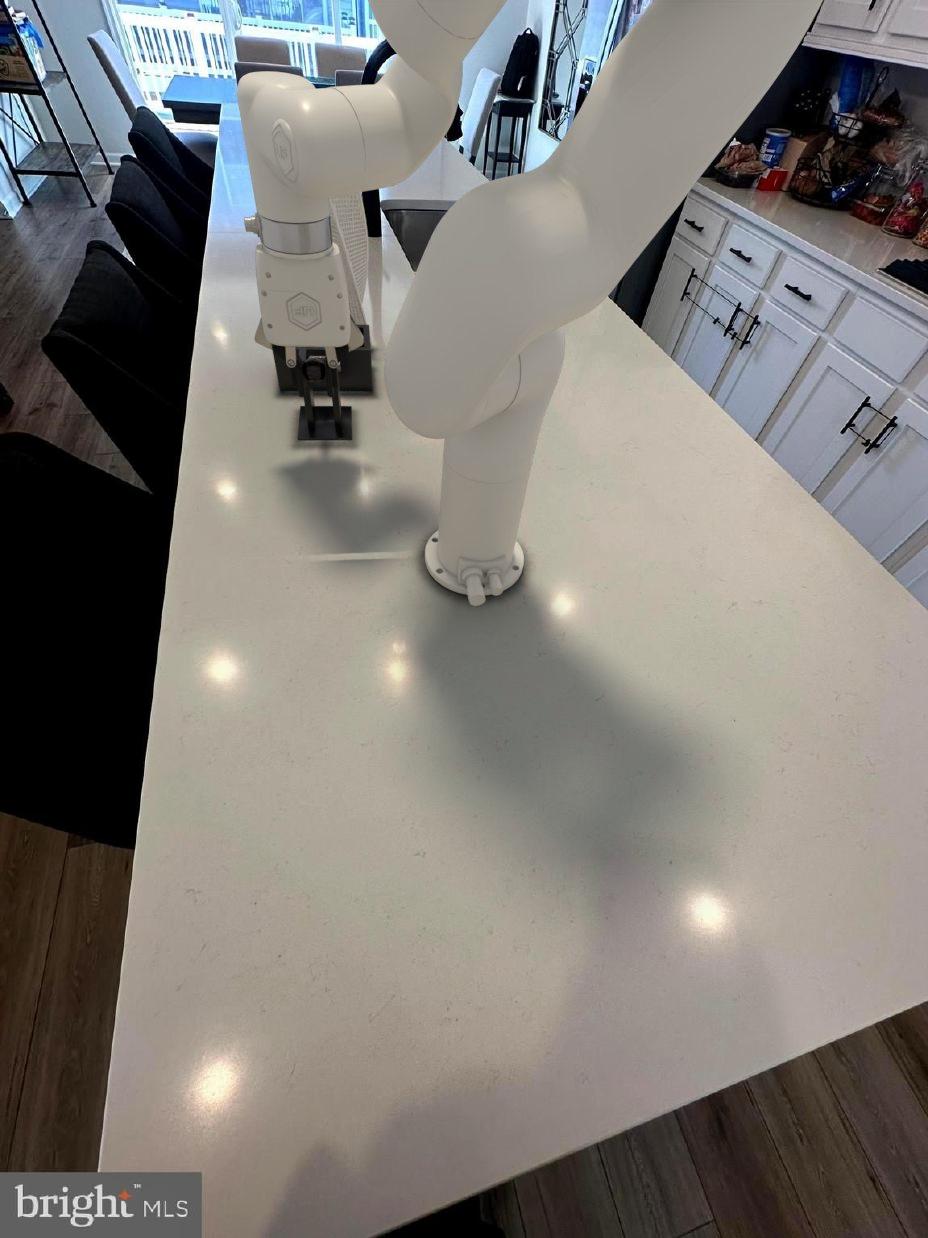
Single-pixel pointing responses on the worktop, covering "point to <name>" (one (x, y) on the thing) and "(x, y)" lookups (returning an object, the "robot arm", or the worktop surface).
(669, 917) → the worktop surface
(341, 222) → the skyscraper
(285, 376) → the black open box
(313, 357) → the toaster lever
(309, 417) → the lever bracket
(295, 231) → the robot arm
